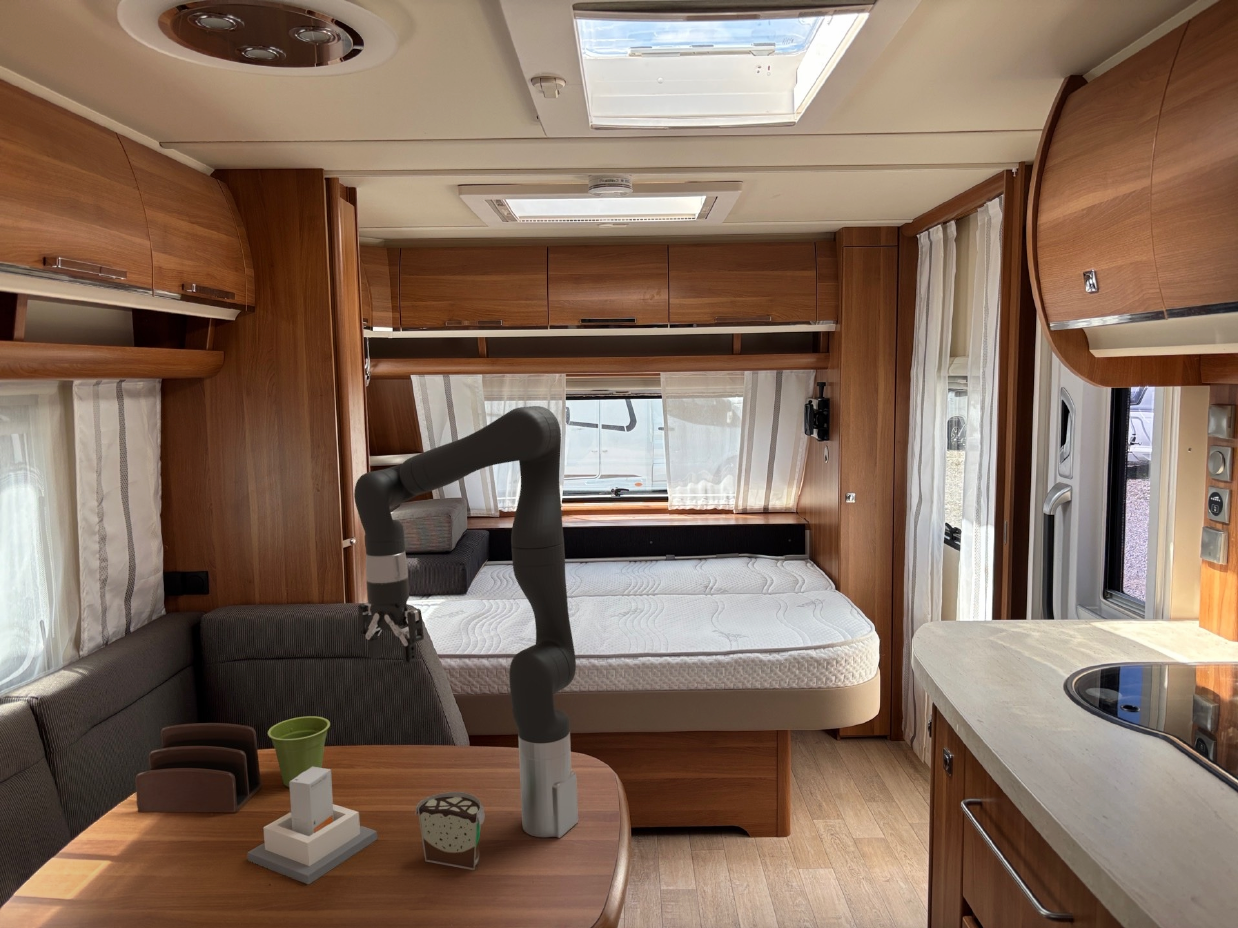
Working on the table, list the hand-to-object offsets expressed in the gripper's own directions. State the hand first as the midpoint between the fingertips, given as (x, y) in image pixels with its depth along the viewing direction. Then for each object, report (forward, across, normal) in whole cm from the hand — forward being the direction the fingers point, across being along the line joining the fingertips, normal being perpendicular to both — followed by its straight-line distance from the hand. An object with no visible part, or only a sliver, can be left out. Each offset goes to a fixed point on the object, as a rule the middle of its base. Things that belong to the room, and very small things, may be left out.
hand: (392, 660), depth 158 cm
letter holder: (+28, +37, +17) cm, 49 cm away
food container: (+28, -22, +9) cm, 37 cm away
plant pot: (+28, +25, +2) cm, 38 cm away
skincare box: (+27, +2, +19) cm, 33 cm away
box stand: (+28, +2, +19) cm, 34 cm away
